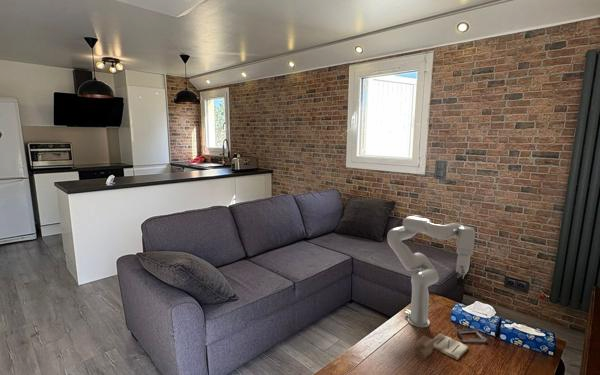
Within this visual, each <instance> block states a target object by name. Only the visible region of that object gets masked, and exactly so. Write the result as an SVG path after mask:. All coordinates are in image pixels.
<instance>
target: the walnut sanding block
mask: <svg viewBox="0 0 600 375" xmlns="http://www.w3.org/2000/svg"><path fill="white" fill-rule="evenodd" d="M415 344H416V345H415V355H417V356H418V355H419V356H418V357H421V359H426V357H427V356H428V357H429V356H430V355H431V354H432V353H433V350H434V348H433V338H430V337H429V336H427V335H425V334H424V335H422V336H421V337H420V338H419V339H418V340H417V341H416V343H415ZM428 357H427V358H428Z"/></svg>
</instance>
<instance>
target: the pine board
mask: <svg viewBox="0 0 600 375" xmlns="http://www.w3.org/2000/svg"><path fill="white" fill-rule="evenodd" d="M432 339H433V349H435V350H437V351H438V352H441V353H442V354H445V355H447V356H448V357H450V358H453V359H454V360H456V361H458V360H459V359H460V358H461V357H462V356H463V355H464V354H465V352H467V351H468V349H469V346H468V345H466V344H464V343H462V342H460V341H458V340H456V339H453V338H451V337H449V336H447V335H446V334H443V333H440V332H439V333H438V334H437V335H436V336H434V337H433V338H432Z"/></svg>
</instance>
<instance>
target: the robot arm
mask: <svg viewBox="0 0 600 375" xmlns="http://www.w3.org/2000/svg"><path fill="white" fill-rule="evenodd" d="M418 233H420V234H425V235H427V236H428V237H431V238H433V239H439V240H443V241H444V240H445V241H446V240H450V239H454V238H457V243H456V253H457V259H456V267H455V273H457V278H456V285H457V286H460V287H464V286H465V281H468V279H469V278H468V275H469V270H470V264H471V256H473V255H474V247H475V239H476V238H475V236H476V230H475V228H473V227H471V226H466V225H463V224H460V223H457V222H451V223H448V224H446V223H445V224H436V223H433V221H432V220H431V219H429V218H424V216H422V215H419V214H414V215H410V216H406V217H405V218H404V219H403V220H402V225H401V226H397V227H393V228H391V229H390V230H389V231H388V232H387V235H386V241H387V243H388V245H389V247H390V248H391V249H392V251H393V252H394V253H395V255H396V257H397V258H398V259H399V261H400V262H401V264H402V265H403V267H404V268H405V269H406V271H408V272H414V271H416V272H414V273H413V274H412V276H411V280H410V282H411V301H410V302H411V304H410V309H408V308H405V309H404V314H405V315H408V316H407V317H406V319H407V322H408V323H409V324H410V325H412V326H414V327H417V328H423V329H424V328H428V327H429V326H430V325H431V321H430V320H429V318H428V316H429V303H430V302H429V301H430V293H429V290H428V287H430V286H432V285H434V284H436V283H437V282H438V281H439V279H440V278H439V273H438V271H437V269H436V268H435V267H434V266H433V264H432V262H431V261H430V259H428V257H427V256H426V255H425V254H423V253H421V252H413V251H411V249H410V248H409V246H408V245H406V244H405V243H404V242H402V241H404V240H405V241H406V240H409V239H411V238H412V237H414V236H416V234H418Z"/></svg>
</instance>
